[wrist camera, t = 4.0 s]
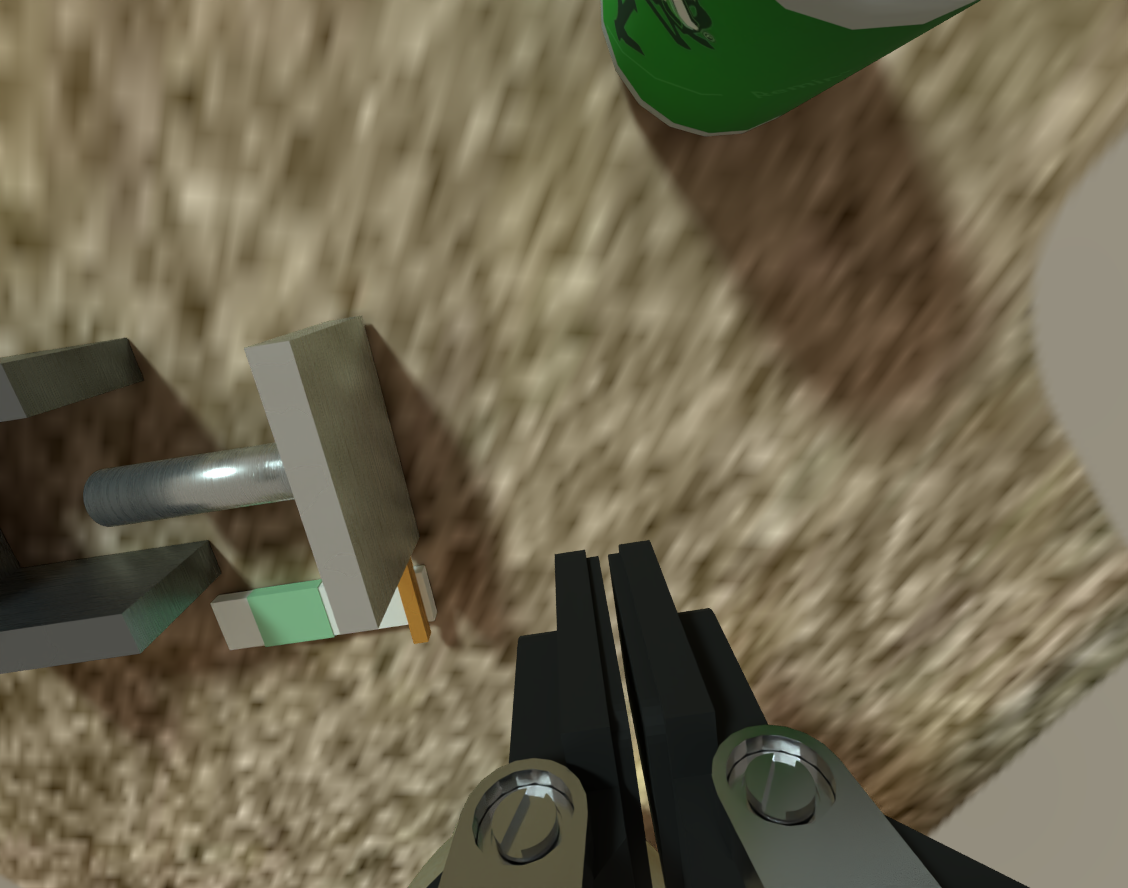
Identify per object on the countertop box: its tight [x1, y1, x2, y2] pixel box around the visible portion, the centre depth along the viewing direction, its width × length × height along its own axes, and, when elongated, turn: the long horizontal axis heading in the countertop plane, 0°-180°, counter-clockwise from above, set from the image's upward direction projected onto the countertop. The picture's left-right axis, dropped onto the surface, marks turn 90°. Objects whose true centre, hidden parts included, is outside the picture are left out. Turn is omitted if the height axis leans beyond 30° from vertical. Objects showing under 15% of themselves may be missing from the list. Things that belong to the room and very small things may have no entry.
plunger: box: [83, 316, 431, 644], centre depth 20 cm, size 9×13×6 cm
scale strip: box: [210, 565, 437, 650], centre depth 24 cm, size 9×2×1 cm, turn 99°
